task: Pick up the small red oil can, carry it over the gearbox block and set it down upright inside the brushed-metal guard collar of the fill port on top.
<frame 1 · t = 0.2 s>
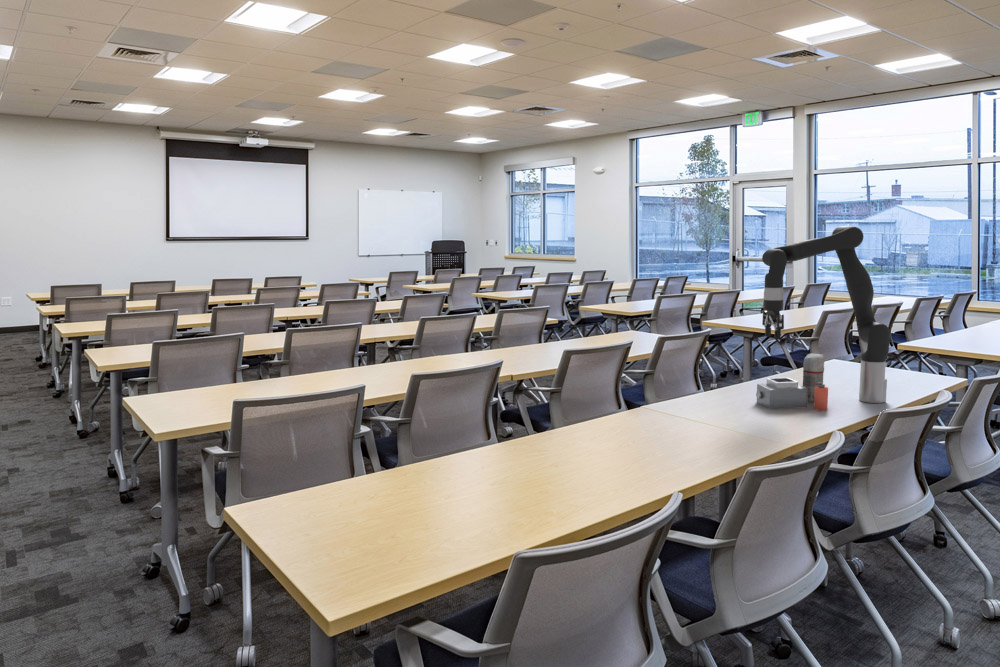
hand: (772, 337, 291), 28 cm above the table, fingers open, 8 cm apart
oil can: (820, 408, 288), on the table
spray can: (812, 400, 303), on the table
gearbox: (781, 404, 296), on the table
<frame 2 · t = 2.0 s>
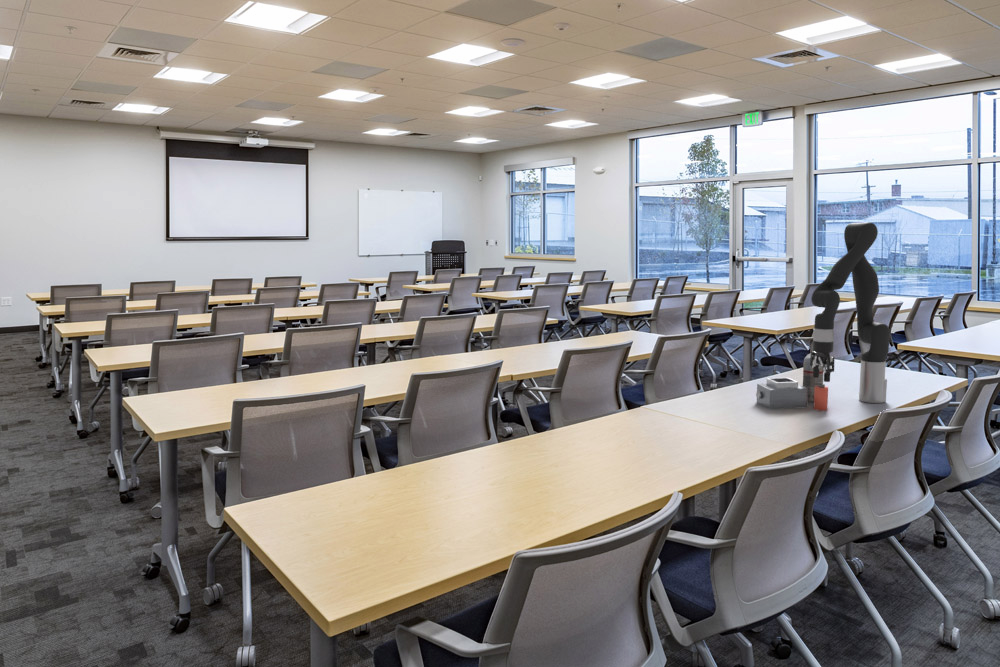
hand: (821, 379, 287), 12 cm above the table, fingers open, 8 cm apart
nothing on the table moved.
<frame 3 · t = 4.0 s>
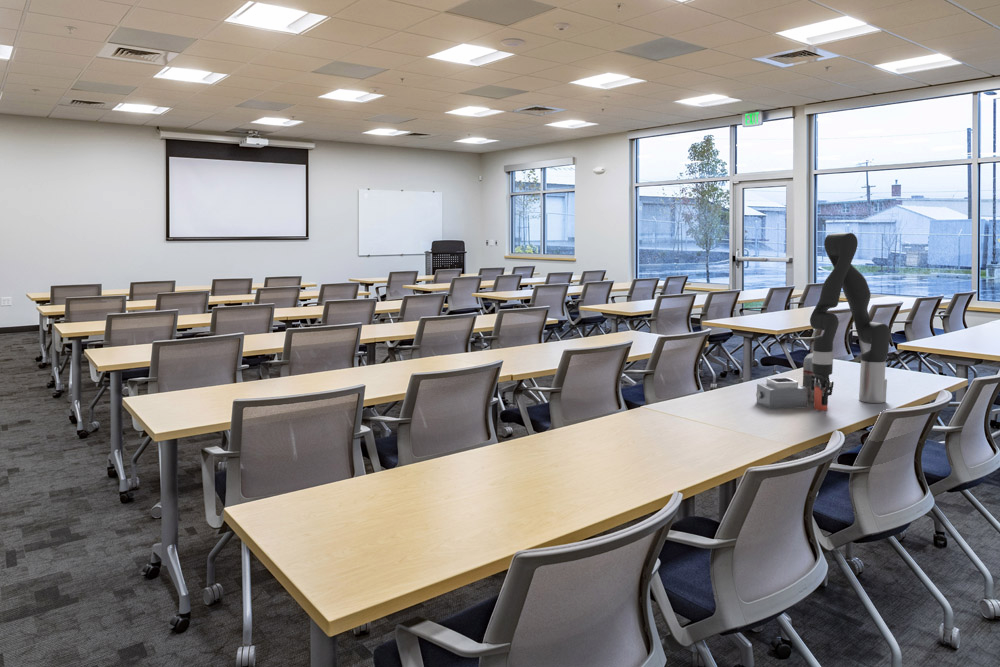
hand: (820, 403, 288), 2 cm above the table, fingers closed on oil can, 5 cm apart
oil can: (820, 408, 288), on the table, touching gripper
everything else where it was.
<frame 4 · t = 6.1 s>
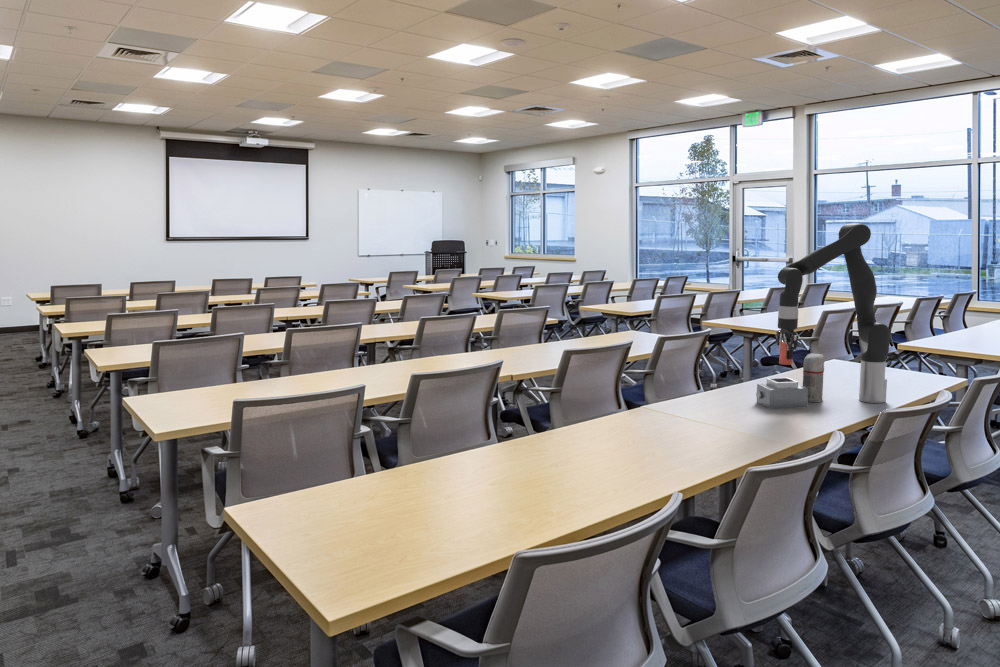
hand: (785, 357, 292), 20 cm above the table, fingers closed on oil can, 5 cm apart
oil can: (785, 363, 293), point 18 cm above the table, touching gripper
everything else where it was.
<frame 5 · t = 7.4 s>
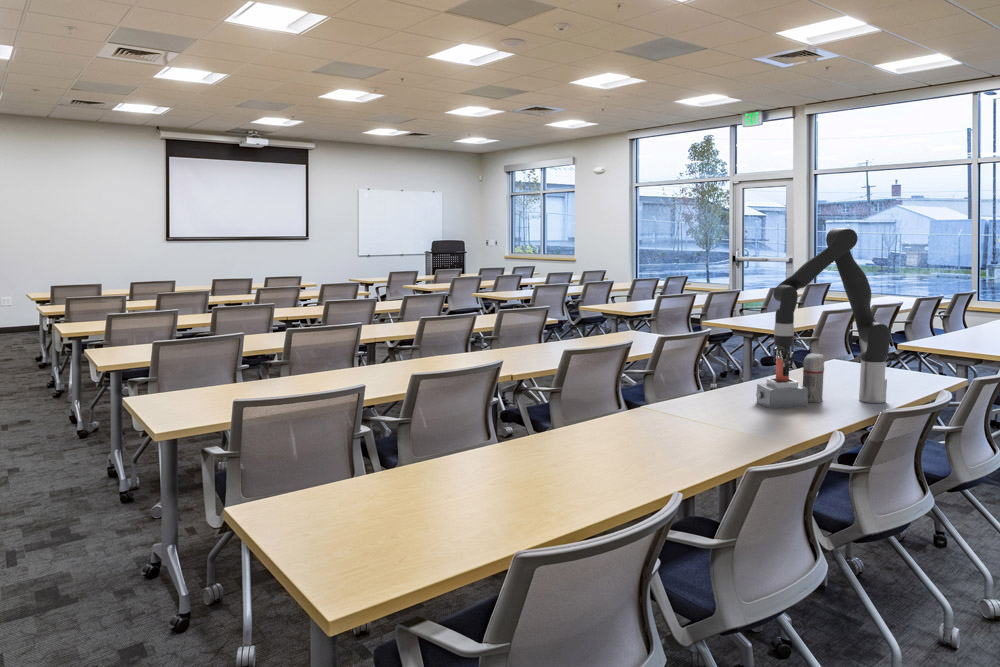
hand: (782, 374, 294), 13 cm above the table, fingers closed on oil can, 5 cm apart
oil can: (782, 380, 295), point 11 cm above the table, touching gripper
everything else where it was.
when the fingers open (12 cm above the table, at t = 8.5 s): oil can drops 1 cm, resting on gearbox.
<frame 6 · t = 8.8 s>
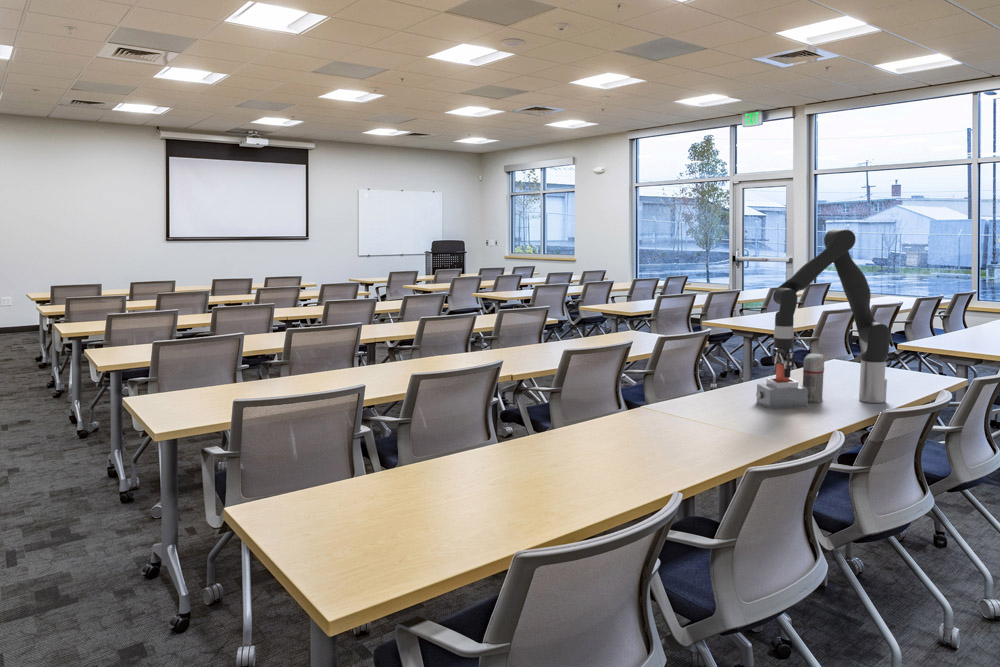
hand: (782, 375, 295), 13 cm above the table, fingers open, 8 cm apart
oil can: (782, 385, 295), point 8 cm above the table, touching gearbox
everything else where it was.
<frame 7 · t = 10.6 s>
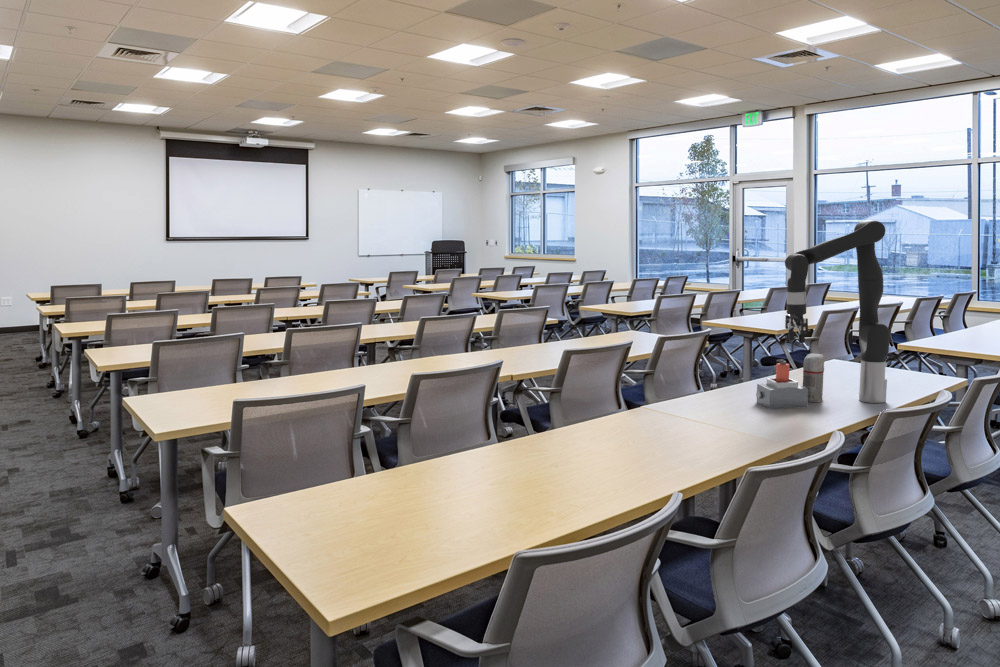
hand: (796, 341, 296), 26 cm above the table, fingers open, 8 cm apart
nothing on the table moved.
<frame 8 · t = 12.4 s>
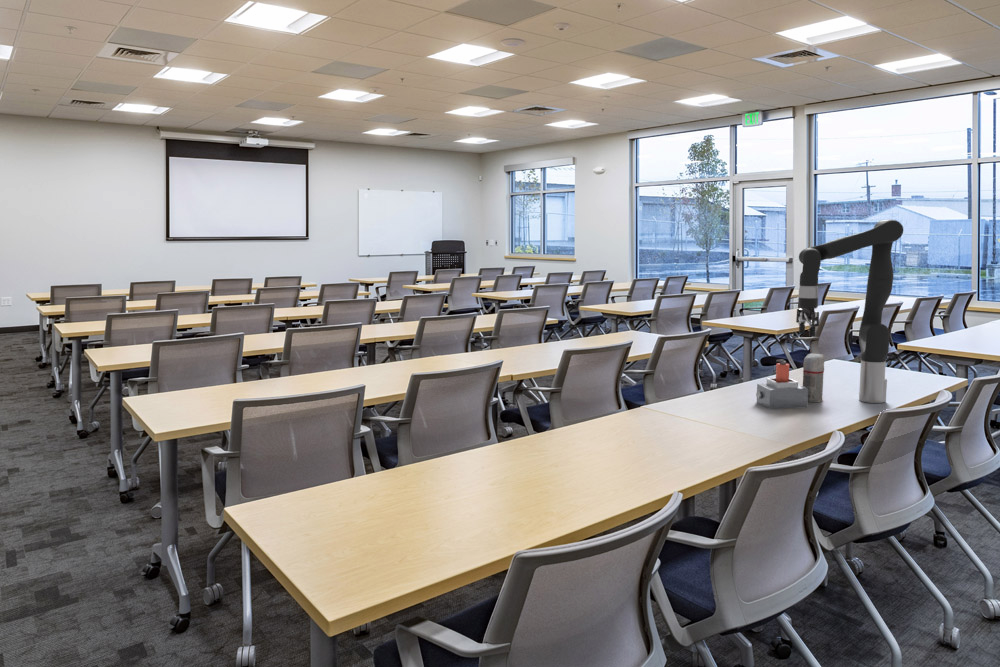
hand: (806, 334, 299), 28 cm above the table, fingers open, 8 cm apart
nothing on the table moved.
at the end: oil can 0.0 cm off-centre on the gearbox, point 8.2 cm above the gearbox's base; oil can tilted 0°; the gripper is holding nothing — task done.
